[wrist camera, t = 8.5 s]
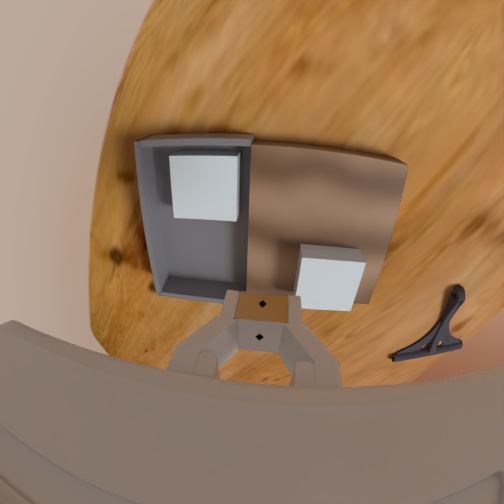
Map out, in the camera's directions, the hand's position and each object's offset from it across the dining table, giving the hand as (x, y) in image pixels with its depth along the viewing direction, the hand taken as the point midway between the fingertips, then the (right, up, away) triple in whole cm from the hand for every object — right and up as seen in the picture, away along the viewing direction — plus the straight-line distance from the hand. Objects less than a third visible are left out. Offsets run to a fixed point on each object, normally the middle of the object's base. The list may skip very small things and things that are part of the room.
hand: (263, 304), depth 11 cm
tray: (-6, +6, +17) cm, 19 cm away
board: (+6, +5, +16) cm, 18 cm away
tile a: (-4, +9, +14) cm, 17 cm away
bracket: (+29, -8, +23) cm, 38 cm away
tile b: (+7, 0, +16) cm, 17 cm away
